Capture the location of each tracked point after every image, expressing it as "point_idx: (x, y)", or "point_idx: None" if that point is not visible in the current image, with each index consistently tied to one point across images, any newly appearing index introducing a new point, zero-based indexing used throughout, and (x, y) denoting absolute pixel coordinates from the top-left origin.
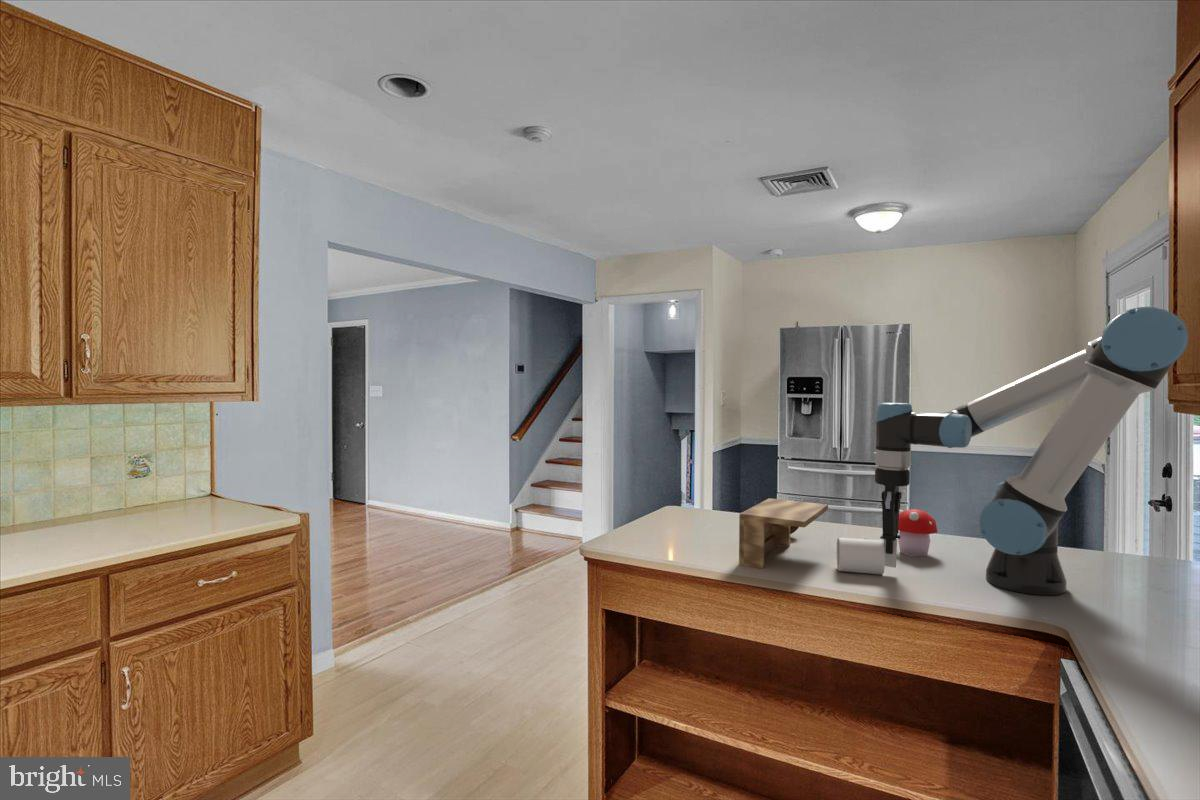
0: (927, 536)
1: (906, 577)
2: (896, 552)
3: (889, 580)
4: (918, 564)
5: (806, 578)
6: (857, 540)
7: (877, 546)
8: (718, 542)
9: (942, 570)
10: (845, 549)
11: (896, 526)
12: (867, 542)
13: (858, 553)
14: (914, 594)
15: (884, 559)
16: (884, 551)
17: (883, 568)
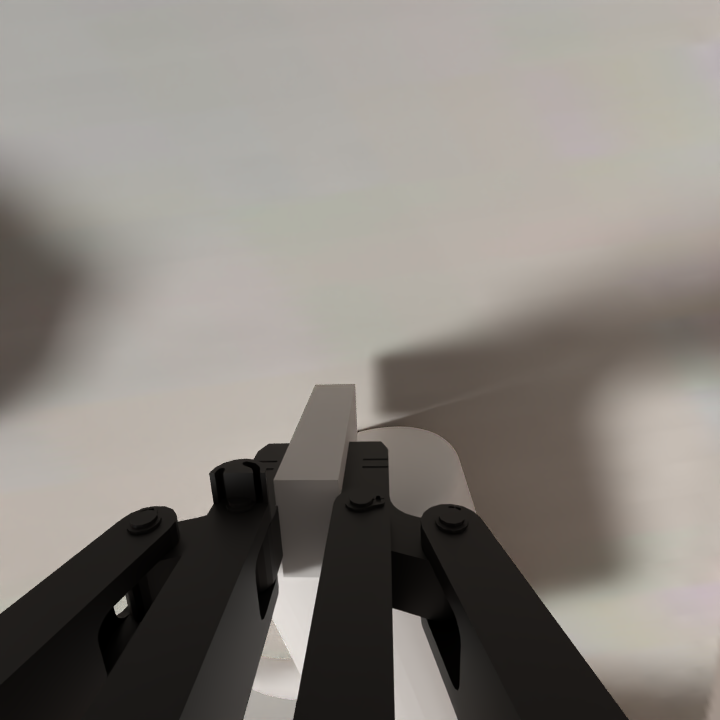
0: None
1: (338, 311)
2: (309, 422)
3: (452, 380)
4: (20, 291)
5: (624, 682)
6: (429, 711)
7: None
8: None
9: (40, 141)
10: None
11: (231, 591)
12: (425, 647)
13: None
14: (658, 223)
15: (459, 464)
16: (441, 499)
17: (443, 438)
